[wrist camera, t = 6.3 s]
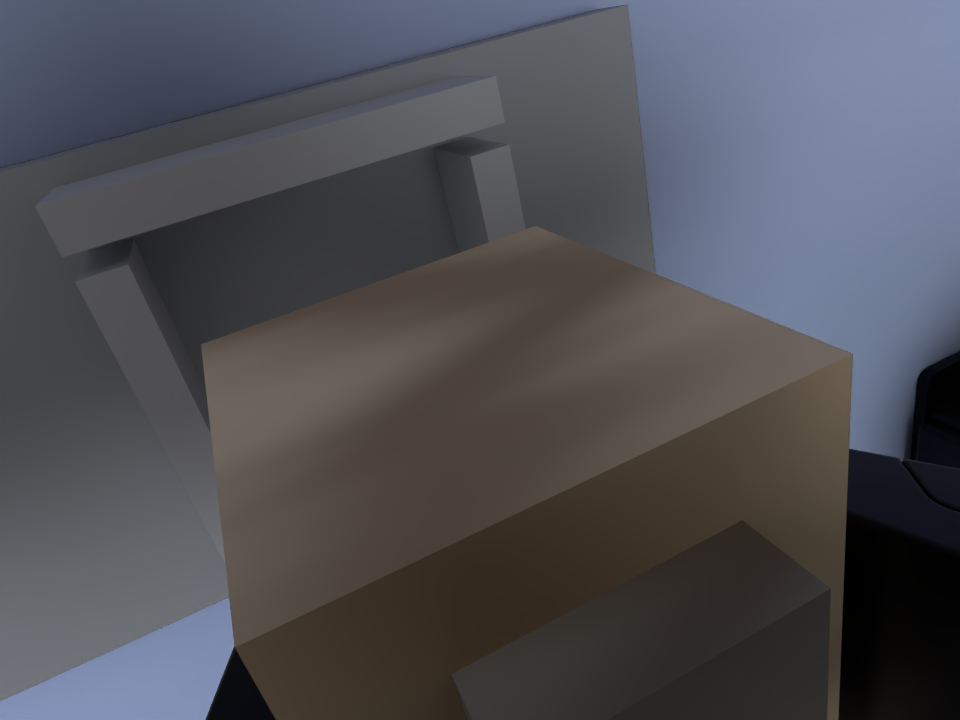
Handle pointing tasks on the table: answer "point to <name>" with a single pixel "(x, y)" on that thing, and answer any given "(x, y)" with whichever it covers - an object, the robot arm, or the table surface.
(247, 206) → the plate
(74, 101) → the table surface
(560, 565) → the block
